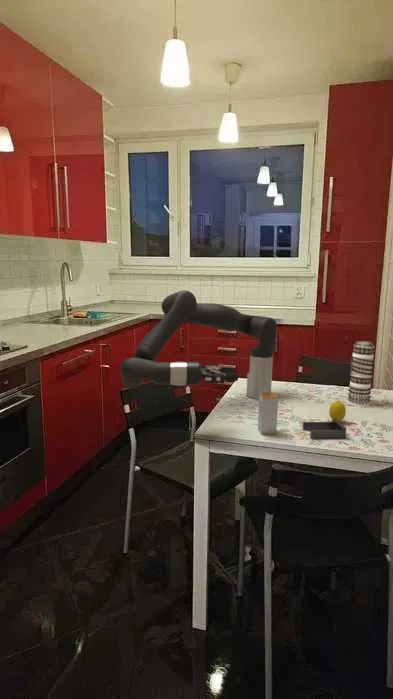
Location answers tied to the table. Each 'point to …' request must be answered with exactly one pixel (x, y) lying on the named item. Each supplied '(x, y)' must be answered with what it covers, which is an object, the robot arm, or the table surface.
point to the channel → (325, 430)
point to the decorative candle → (361, 374)
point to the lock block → (267, 413)
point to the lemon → (337, 410)
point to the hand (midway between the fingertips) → (235, 373)
